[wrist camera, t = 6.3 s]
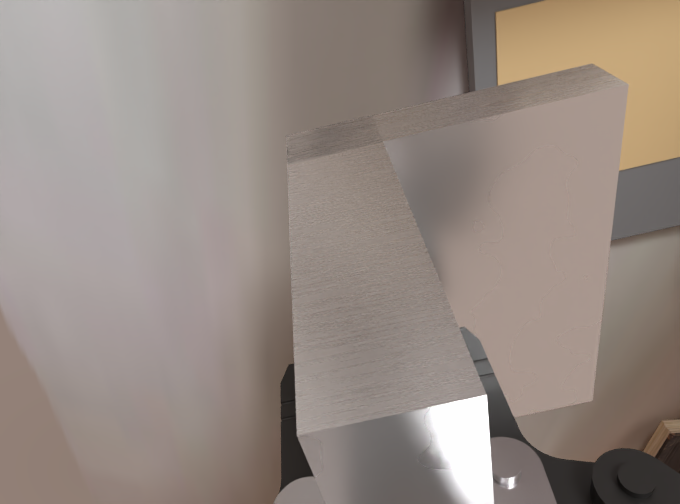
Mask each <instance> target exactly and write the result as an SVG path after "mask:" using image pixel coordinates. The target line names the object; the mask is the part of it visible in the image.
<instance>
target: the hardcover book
mask: <svg viewBox="0 0 680 504" xmlns="http://www.w3.org/2000/svg"><path fill="white" fill-rule="evenodd" d="M643 452H645V453H647V454H649V455H651V456H653V457H655V458H657V459H658V460H660V461H661V462H663V463H664V464H666V465H667V466H669V467H670V468H672V469H673V470H675V471H676V472H678V473H679V474H680V419H674V420H662V421H661V422H660V424H659V426H658V427H657V429H656V431H655V432H654V434H653V436H652V437H651V439H650V441H649V442H648V444H647V446H646V447H645V449H644V451H643Z"/></svg>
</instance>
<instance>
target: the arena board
mask: <svg viewBox="0 0 680 504" xmlns="http://www.w3.org/2000/svg"><path fill="white" fill-rule="evenodd" d="M464 13H465V29H466V46H467V62H468V79H469V92H473V91H477V90H481V89H486V88H490V87H494V86H498V85H503V84H507V83H511V82H515V81H520V80H524V79H528V78H532V77H536V76H541V75H545V74H549V73H553V72H558V71H562V70H566V69H570V68H575V67H579V66H583V65H587V64H591V63H592V64H594V65H596V66H598V67H599V68H601V69H603V70H605V71H606V72H608V73H610V74H612V75H613V76H615V77H617V78H619V79H620V80H622V81H624V82H626V83H627V84H629V87H628V95H627V104H626V113H625V121H624V130H623V139H622V148H621V156H620V165H619V174H618V183H617V191H616V200H615V209H614V218H613V226H612V235H611V240H616V239H620V238H625V237H629V236H634V235H638V234H643V233H647V232H651V231H656V230H660V229H665V228H669V227H674V226H678V225H680V0H464Z"/></svg>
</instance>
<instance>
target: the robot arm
mask: <svg viewBox="0 0 680 504" xmlns="http://www.w3.org/2000/svg"><path fill="white" fill-rule="evenodd" d="M460 331H461V333H462V336H463V338H464V341H465V343H466V346H467V348H468V350H469V353H470V355H471V358H472V360H473V363H474V365H475V368H476V370H477V372H478V375H479V377H480V380H481V382H482V385H483V387H484V390H485V392H486V394H487V407H488V421H489V436H490V451H491V466H492V481H493V496H494V504H680V474H679V473H678V472H676V471H675V470H673V469H672V468H670V467H669V466H667V465H666V464H664V463H663V462H661V461H660V460H658V459H657V458H655V457H653V456H651V455H649V454H647V453H645V452H642V451H639V450H634V449H625V448H621V449H614V450H611V451H608V452H606V453H604V454H603V455H601V456H600V457H599V458H598V459H597V461H596V462H595V463H593V462H583V461H574V460H565V459H559V458H555V457H552V456H549V455H547V454H544V453H542V452H541V451H539V450H537V449H536V448H534V447H533V446H532V445H531V444H530V443H529V442H528V441H527V440H526V439H525V438H524V437H523V435H522V434H521V432H520V430H519V428H518V425H517V423H516V421H515V419H514V416H513V414H512V412H511V410H510V407H509V405H508V403H507V401H506V398H505V396H504V394H503V392H502V389H501V387H500V385H499V382H498V380H497V378H496V376H495V375H494V371H493V369H492V367H491V364H490V362H489V361H488V358H487V355H486V353H485V351H484V349H483V346H482V344H481V342H480V340H479V339H478V338H477V337H476V336H474V335H473V334H472V333H471V332H470V331H469V330H468V329H467V328H465V327H460ZM281 420H282V422H281V478H282V479H281V488H280V492H279V494H278V496H277V498H276V499H275V501H274V504H325V501H324V499H323V497H322V494H321V492H320V489H319V487H318V485H317V482H316V480H315V478H314V475H313V473H312V470H311V468H310V466H309V463H308V461H307V459H306V456H305V454H304V451H303V449H302V447H301V444H300V442H299V440H298V437H297V427H296V398H295V369H294V364H290V365H289V366H288V368H287V370H286V372H285V375H284V377H283V379H282V381H281Z"/></svg>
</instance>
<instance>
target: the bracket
mask: <svg viewBox="0 0 680 504" xmlns="http://www.w3.org/2000/svg"><path fill="white" fill-rule="evenodd" d="M628 87H629V84H627V83H626V82H624V81H622V80H620V79H619V78H617V77H615V76H613V75H612V74H610V73H608V72H606V71H605V70H603V69H601V68H599V67H598V66H596V65H594V64H592V63H591V64H587V65H583V66H579V67H575V68H570V69H566V70H562V71H558V72H553V73H549V74H545V75H541V76H536V77H532V78H528V79H524V80H520V81H515V82H511V83H507V84H503V85H498V86H494V87H490V88H486V89H481V90H477V91H473V92H469V93H465V94H460V95H456V96H452V97H448V98H443V99H439V100H435V101H431V102H426V103H422V104H418V105H414V106H410V107H405V108H401V109H397V110H393V111H388V112H384V113H380V114H376V115H372V116H367V117H363V118H359V119H355V120H350V121H346V122H342V123H338V124H333V125H329V126H325V127H321V128H317V129H312V130H308V131H304V132H300V133H295V134H291V135H287V136H286V140H287V168H288V197H289V226H290V254H291V283H292V312H293V340H294V369H295V398H296V427H297V437H298V440H299V442H300V444H301V447H302V449H303V451H304V454H305V456H306V459H307V461H308V463H309V466H310V468H311V470H312V473H313V475H314V478H315V480H316V482H317V485H318V487H319V489H320V492H321V494H322V497H323V499H324V501H325V504H494V496H493V481H492V466H491V451H490V436H489V421H488V407H487V394H486V392H485V390H484V387H483V385H482V382H481V380H480V377H479V375H478V372H477V370H476V368H475V365H474V363H473V360H472V358H471V355H470V353H469V350H468V348H467V346H466V343H465V341H464V338H463V336H462V333H461V331H460V327H465V328H467V329H468V330H469V331H470V332H471V333H472V334H473V335H474V336H476V337H477V338H478V339H479V340H480V342H481V344H482V346H483V349H484V351H485V353H486V355H487V358H488V361H489V362H490V364H491V367H492V369H493V371H494V375H495V376H496V378H497V380H498V382H499V385H500V387H501V389H502V392H503V394H504V396H505V398H506V401H507V403H508V405H509V407H510V410H511V412H512V414H513V416H514V417H519V416H524V415H528V414H533V413H538V412H542V411H547V410H552V409H557V408H561V407H566V406H571V405H576V404H580V403H585V402H590V401H593V392H594V383H595V375H596V366H597V357H598V348H599V340H600V331H601V322H602V314H603V305H604V296H605V287H606V279H607V270H608V261H609V252H610V244H611V235H612V226H613V218H614V209H615V200H616V191H617V183H618V174H619V165H620V156H621V148H622V139H623V130H624V121H625V113H626V104H627V95H628Z"/></svg>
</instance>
